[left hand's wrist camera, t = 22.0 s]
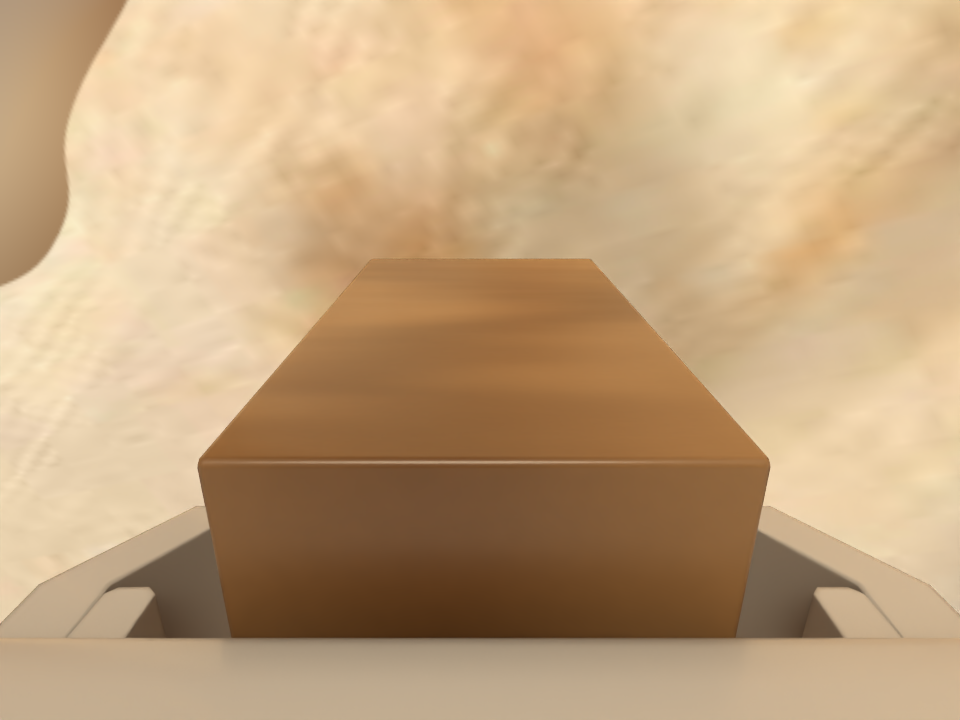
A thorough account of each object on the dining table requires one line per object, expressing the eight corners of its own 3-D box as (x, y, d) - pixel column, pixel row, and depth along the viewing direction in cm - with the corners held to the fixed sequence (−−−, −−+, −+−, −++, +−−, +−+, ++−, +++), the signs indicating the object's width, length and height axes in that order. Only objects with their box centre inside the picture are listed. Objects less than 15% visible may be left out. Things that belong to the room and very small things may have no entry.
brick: (591, 258, 13) (775, 460, 5) (575, 498, 15) (683, 907, 7) (370, 258, 13) (192, 462, 5) (386, 498, 15) (282, 908, 7)
